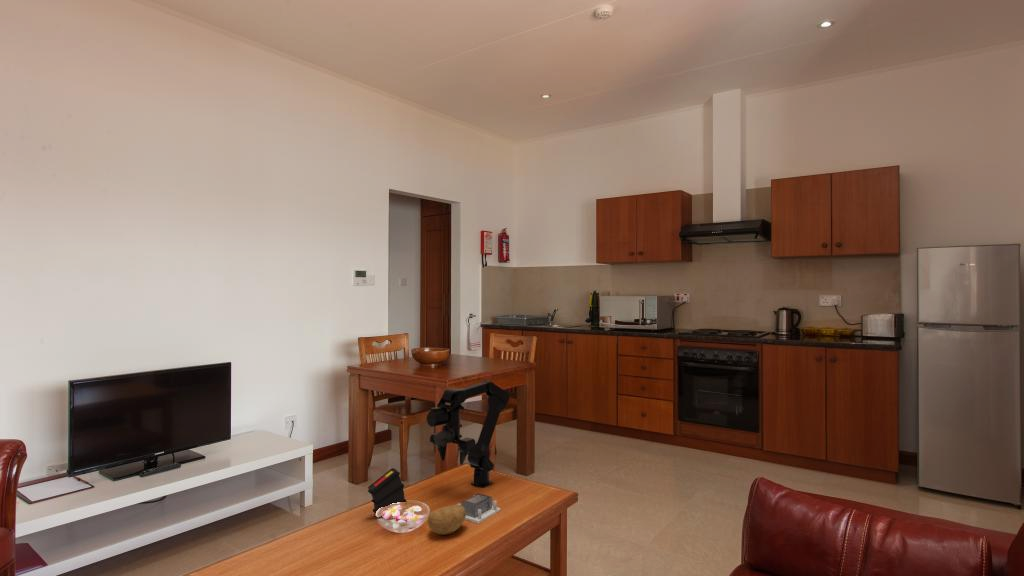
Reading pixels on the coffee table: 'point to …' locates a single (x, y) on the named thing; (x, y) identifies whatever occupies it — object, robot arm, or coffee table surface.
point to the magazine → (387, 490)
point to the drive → (477, 504)
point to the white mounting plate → (485, 515)
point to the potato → (446, 519)
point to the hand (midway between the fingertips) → (452, 462)
